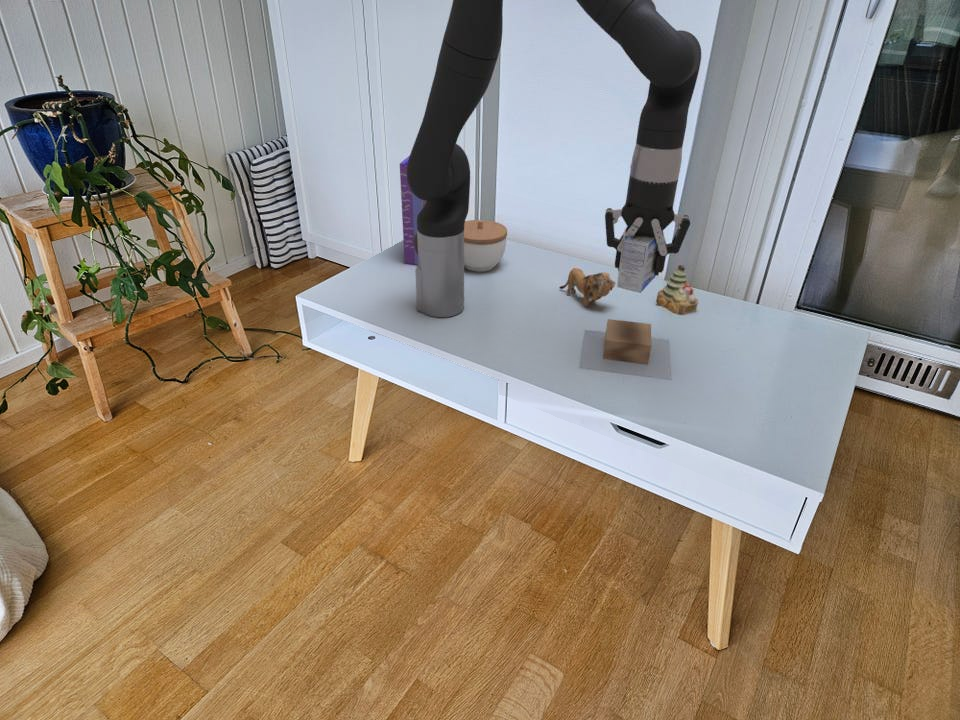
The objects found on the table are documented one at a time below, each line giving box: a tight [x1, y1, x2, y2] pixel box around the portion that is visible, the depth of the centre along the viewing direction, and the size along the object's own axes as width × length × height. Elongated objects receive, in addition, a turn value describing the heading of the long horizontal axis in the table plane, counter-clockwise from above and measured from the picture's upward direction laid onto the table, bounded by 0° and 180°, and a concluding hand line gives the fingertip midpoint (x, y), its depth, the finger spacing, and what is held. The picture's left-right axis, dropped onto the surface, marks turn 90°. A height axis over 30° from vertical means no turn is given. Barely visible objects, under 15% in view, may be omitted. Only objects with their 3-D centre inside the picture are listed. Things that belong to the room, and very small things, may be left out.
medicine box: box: [616, 235, 659, 294], centre depth 108 cm, size 8×4×9 cm, turn 148°
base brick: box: [603, 318, 652, 365], centre depth 117 cm, size 8×8×4 cm
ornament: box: [655, 264, 699, 316], centre depth 131 cm, size 8×6×10 cm
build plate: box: [578, 329, 673, 381], centre depth 117 cm, size 16×14×1 cm
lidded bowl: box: [464, 219, 508, 273], centre depth 149 cm, size 13×13×11 cm
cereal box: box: [399, 155, 427, 267], centre depth 152 cm, size 17×5×24 cm, turn 167°
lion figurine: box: [558, 267, 617, 308], centre depth 134 cm, size 15×5×9 cm, turn 35°
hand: (638, 271), depth 109 cm, fingers closed on medicine box, 5 cm apart
